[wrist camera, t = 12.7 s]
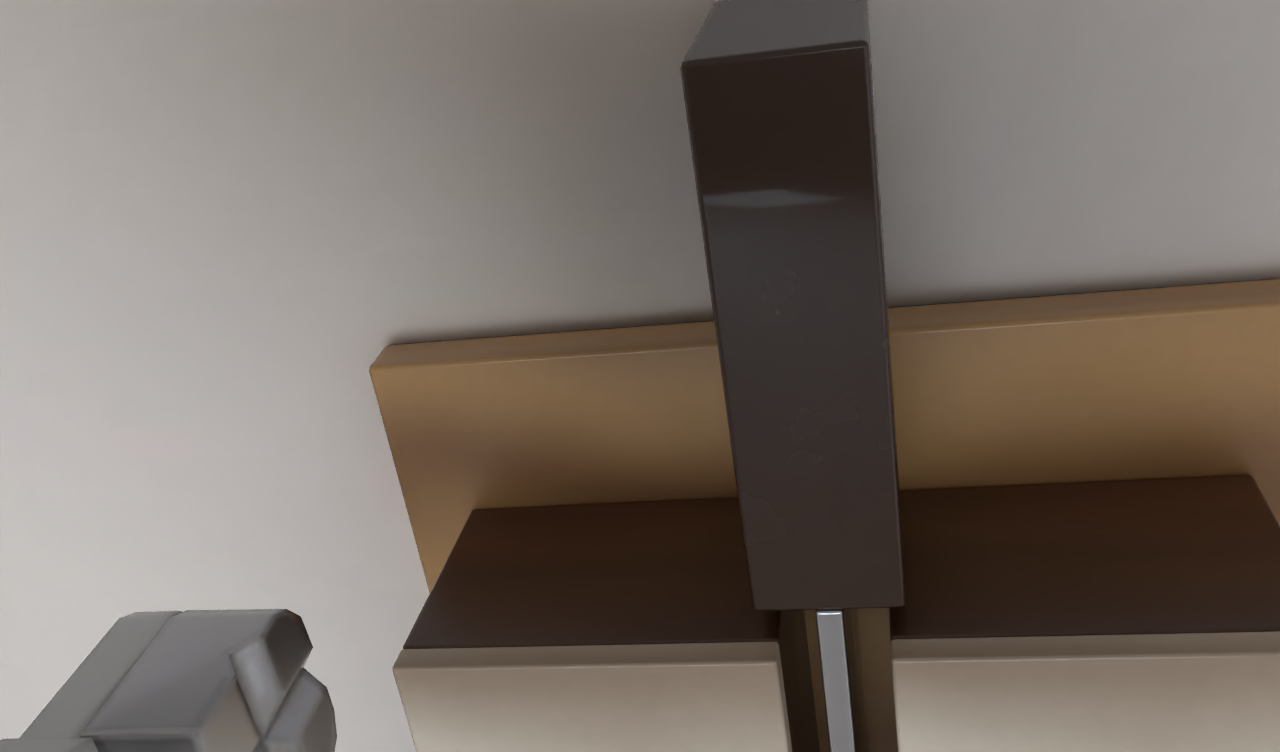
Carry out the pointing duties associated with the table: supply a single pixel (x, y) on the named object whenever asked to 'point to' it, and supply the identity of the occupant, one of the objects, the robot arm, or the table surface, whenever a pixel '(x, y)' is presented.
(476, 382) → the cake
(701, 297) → the table surface
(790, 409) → the cake knife
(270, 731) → the robot arm
